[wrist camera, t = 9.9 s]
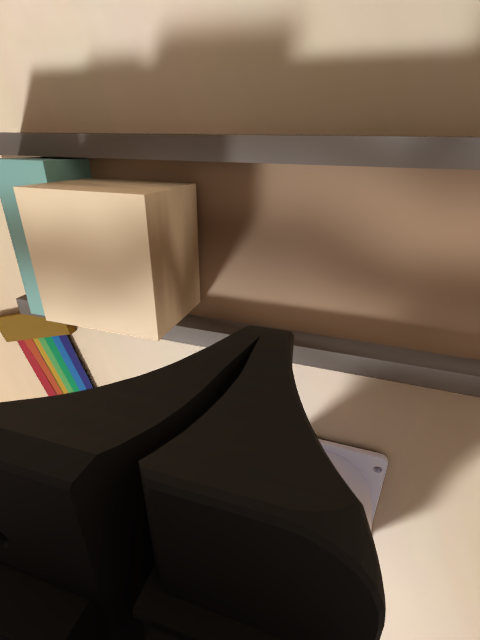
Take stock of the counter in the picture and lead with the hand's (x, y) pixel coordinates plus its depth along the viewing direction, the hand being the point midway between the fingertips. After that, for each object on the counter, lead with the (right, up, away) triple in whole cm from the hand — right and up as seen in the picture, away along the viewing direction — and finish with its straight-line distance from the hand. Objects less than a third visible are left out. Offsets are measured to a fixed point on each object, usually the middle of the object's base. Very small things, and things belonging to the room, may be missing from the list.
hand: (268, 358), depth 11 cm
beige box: (-6, +5, +8) cm, 11 cm away
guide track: (+1, +5, +8) cm, 10 cm away
